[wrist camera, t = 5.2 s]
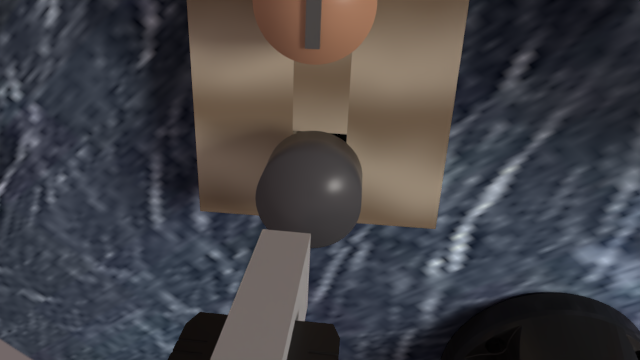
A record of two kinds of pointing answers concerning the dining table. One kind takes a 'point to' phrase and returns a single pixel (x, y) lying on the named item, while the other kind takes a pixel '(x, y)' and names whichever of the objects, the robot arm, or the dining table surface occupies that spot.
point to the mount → (328, 104)
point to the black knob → (311, 187)
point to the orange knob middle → (315, 27)
